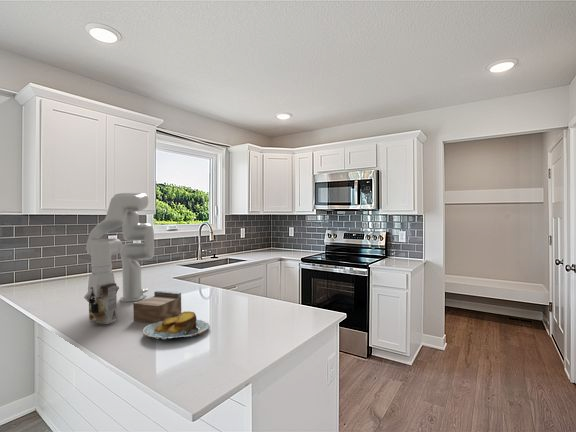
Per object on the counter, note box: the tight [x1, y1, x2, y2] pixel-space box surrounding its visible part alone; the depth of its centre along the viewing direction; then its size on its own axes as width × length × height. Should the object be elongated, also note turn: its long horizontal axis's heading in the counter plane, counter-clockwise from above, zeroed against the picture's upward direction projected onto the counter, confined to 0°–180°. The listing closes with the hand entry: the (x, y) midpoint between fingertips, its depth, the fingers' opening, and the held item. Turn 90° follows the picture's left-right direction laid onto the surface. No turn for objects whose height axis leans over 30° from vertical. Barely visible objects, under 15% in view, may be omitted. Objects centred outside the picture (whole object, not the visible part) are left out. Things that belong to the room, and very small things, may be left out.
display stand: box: [132, 290, 182, 324], centre depth 144 cm, size 15×14×10 cm
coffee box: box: [88, 282, 118, 325], centre depth 136 cm, size 9×6×16 cm
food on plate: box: [142, 310, 210, 340], centre depth 126 cm, size 25×25×7 cm
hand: (103, 309), depth 136 cm, fingers closed on coffee box, 7 cm apart
